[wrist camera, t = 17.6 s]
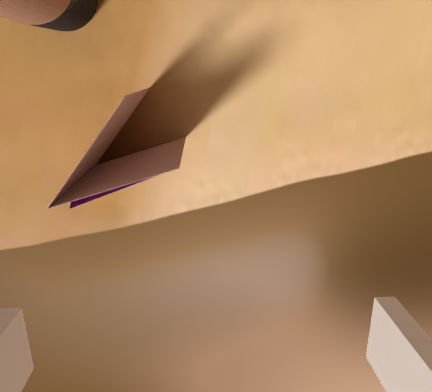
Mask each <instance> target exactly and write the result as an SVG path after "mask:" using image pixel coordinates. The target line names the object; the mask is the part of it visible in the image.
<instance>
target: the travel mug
mask: <svg viewBox="0 0 432 392" xmlns="http://www.w3.org/2000/svg"><path fill="white" fill-rule="evenodd" d="M96 6H97V0H0V17H2V18H6V19H9V20H12V21H16V22H19V23H23V24H28V25H32V26H38V27H43V28H48V29H53V30H59V31H73V30H77V29H79V28H81V27H83V26H84V25H86V24H87V23H88V22H89V21H90V19H91V18H92V16H93V15H94V12H95V10H96Z"/></svg>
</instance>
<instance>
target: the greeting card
mask: <svg viewBox="0 0 432 392" xmlns="http://www.w3.org/2000/svg"><path fill="white" fill-rule="evenodd" d="M149 89H150V88H147V89H144V90H141V91H138V92H135V93H132V94H129V95H126V96H124V98H123V99H122V101H121V102H120V104H119V105H118V107H117V108H116V109H115V111H114V112H113V114H112V115H111V117H110V118H109V120H108V121H107V122H106V124H105V125H104V127H103V128H102V130H101V131H100V133H99V134H98V135H97V137H96V138H95V140H94V141H93V143H92V144H91V146H90V147H89V149H88V150H87V151H86V153H85V154H84V156H83V157H82V159H81V160H80V162H79V163H78V164H77V166H76V167H75V169H74V170H73V172H72V173H71V175H70V176H69V177H68V179H67V180H66V182H65V183H64V185H63V186H62V188H61V189H60V191H59V192H58V193H57V195H56V196H55V198H54V199H53V201H52V202H51V204H50V205H49V206H48V208H47V209H50V208H53V207H56V206H59V205H63V204H66V203H69V202H71V205H70V208H73V207H75V206H78V205H81V204H83V203H86V202H89V201H91V200H94V199H97V198H99V197H102V196H105V195H107V194H110V193H112V192H115V191H118V190H120V189H123V188H126V187H128V186H131V185H134V184H136V183H139V182H142V181H144V180H147V179H150V178H152V177H155V176H158V175H160V174H163V173H166V172H170V171H173V170H176V169H179V167H180V162H181V157H182V153H183V148H184V143H185V139H186V137H184V138H181V139H178V140H175V141H171V142H168V143H165V144H162V145H159V146H155V147H152V148H149V149H146V150H143V151H140V152H136V153H133V154H130V155H127V156H124V157H120V158H117V159H114V160H111V161H108V162H104V163H101V164H98V165H96V164H97V163H98V161H99V160H100V158H101V157H102V155H103V154H104V153H105V151H106V150H107V148H108V147H109V145H110V144H111V143H112V141H113V140H114V138H115V137H116V136H117V134H118V133H119V131H120V130H121V128H122V127H123V126H124V124H125V123H126V121H127V120H128V119H129V117H130V116H131V114H132V113H133V111H134V110H135V109H136V107H137V106H138V104H139V103H140V102H141V100H142V99H143V97H144V96H145V94H146V93H147V92H148V90H149Z"/></svg>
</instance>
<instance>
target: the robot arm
mask: <svg viewBox="0 0 432 392" xmlns="http://www.w3.org/2000/svg"><path fill="white" fill-rule="evenodd" d="M366 357H367V359H368V361H369V363H370V364H371V366H372V368H373V370H374V371H375V373H376V375H377V376H378V378H379V380H380V382H381V383H382V385H383V387H384V389H385V390H386V392H432V340H431V339H430V338H429V336H428V335H427V334H426V333H425V332H424V331H423V330H422V328H421V327H420V326H419V325H418V324H417V323H416V321H415V320H414V319H413V318H412V317H411V316H410V314H409V313H408V312H407V311H406V310H405V309H404V307H403V306H402V305H401V304H400V303H399V302H398V300H397V299H396V298H395V297H375V298H374V305H373V313H372V319H371V326H370V333H369V340H368V346H367V353H366ZM33 369H34V368H33V362H32V357H31V352H30V348H29V342H28V338H27V333H26V328H25V323H24V317H23V312H22V308H7V309H0V392H21V391H22V389H23V387H24V385H25V383H26V382H27V380H28V378H29V376H30V374H31V372H32V371H33Z"/></svg>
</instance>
